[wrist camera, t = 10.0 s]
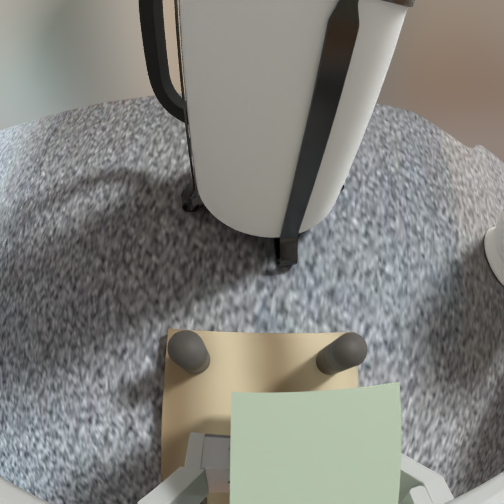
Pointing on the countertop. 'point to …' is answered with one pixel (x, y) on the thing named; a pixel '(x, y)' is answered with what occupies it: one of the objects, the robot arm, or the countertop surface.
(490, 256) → the jar
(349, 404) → the block
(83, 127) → the countertop surface
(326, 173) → the coffee press
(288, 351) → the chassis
